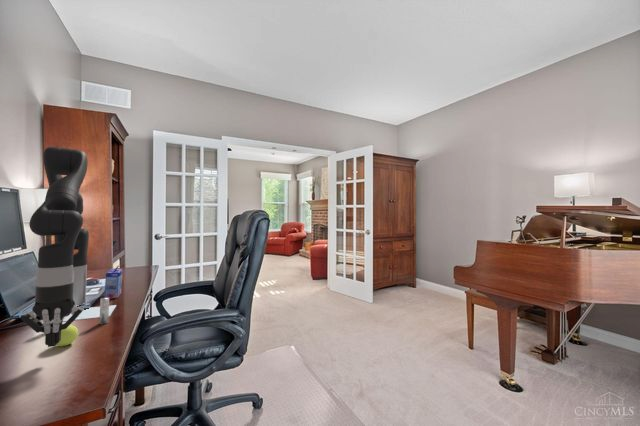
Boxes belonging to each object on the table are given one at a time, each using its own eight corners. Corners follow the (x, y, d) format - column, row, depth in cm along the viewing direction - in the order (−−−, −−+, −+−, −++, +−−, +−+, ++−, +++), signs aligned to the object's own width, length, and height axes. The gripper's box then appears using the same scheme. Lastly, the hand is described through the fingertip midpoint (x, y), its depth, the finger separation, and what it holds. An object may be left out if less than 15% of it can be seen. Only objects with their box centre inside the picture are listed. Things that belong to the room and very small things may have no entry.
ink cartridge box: (118, 298, 130) (119, 267, 130) (103, 299, 128) (105, 268, 128) (122, 292, 139) (123, 264, 139) (108, 293, 136) (109, 264, 136)
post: (100, 322, 102) (101, 297, 102) (109, 321, 103) (110, 297, 103) (98, 324, 99) (99, 299, 99) (107, 323, 101) (108, 299, 101)
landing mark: (75, 309, 114) (75, 309, 114) (116, 305, 120) (116, 304, 120) (62, 321, 101) (62, 321, 101) (109, 316, 108) (109, 315, 108)
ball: (55, 342, 85) (56, 323, 85) (80, 339, 88) (81, 320, 88) (47, 351, 80) (48, 330, 80) (74, 347, 83) (75, 327, 83)
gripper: (89, 277, 82) (87, 335, 82) (28, 281, 76) (26, 344, 76) (82, 283, 75) (79, 346, 75) (14, 287, 69) (11, 356, 69)
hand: (52, 345), depth 75 cm, fingers closed
